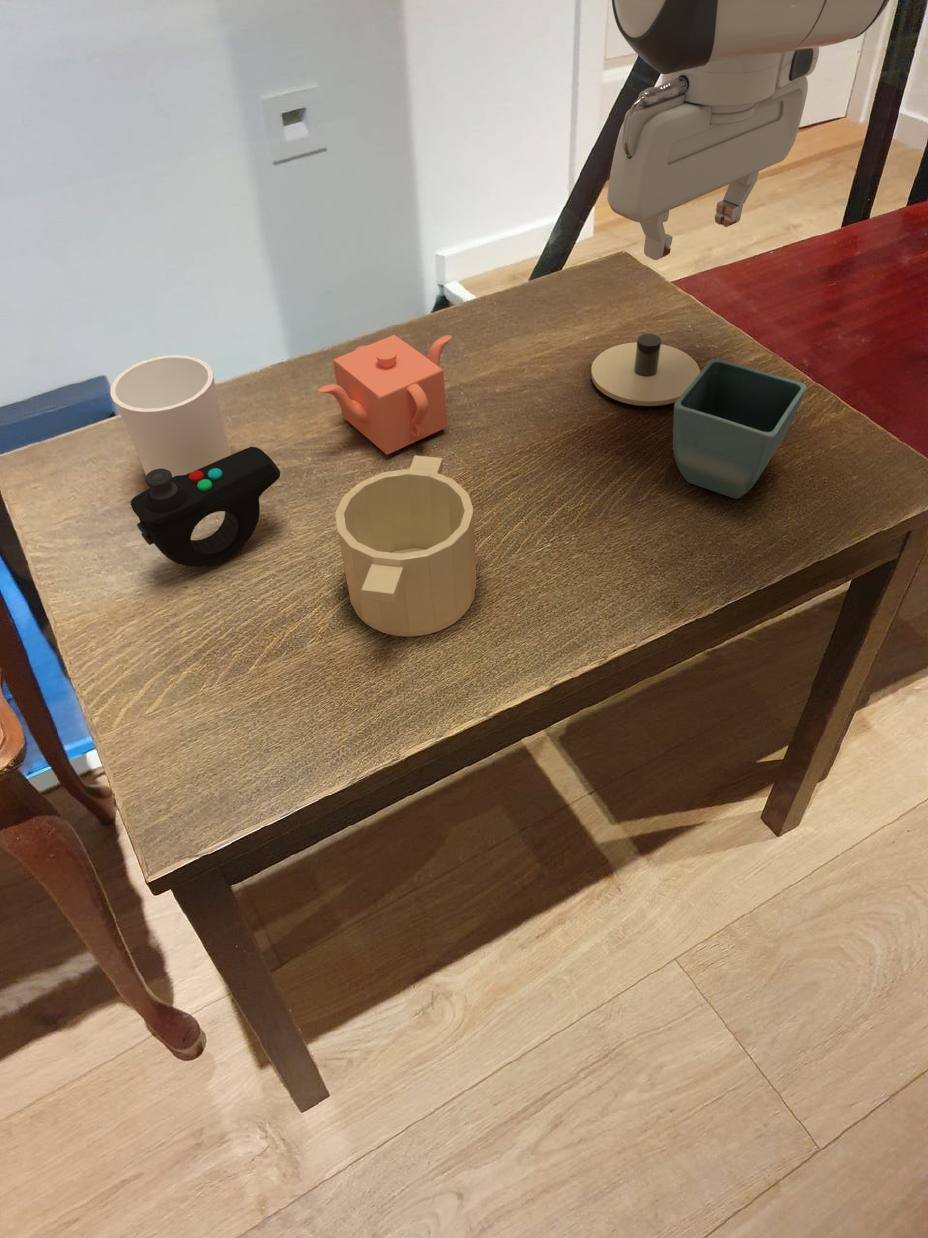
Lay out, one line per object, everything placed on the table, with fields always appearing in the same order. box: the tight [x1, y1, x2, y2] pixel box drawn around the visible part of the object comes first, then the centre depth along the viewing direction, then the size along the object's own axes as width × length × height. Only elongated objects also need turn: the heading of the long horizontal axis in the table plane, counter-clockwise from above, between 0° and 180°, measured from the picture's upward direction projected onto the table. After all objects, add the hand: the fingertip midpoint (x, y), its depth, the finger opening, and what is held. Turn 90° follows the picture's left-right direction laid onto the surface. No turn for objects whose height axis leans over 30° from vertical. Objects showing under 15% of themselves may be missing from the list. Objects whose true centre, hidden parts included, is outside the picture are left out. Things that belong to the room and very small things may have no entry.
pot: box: [334, 455, 477, 638], centre depth 71 cm, size 10×16×8 cm, turn 168°
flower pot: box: [672, 358, 807, 500], centre depth 79 cm, size 9×9×9 cm
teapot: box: [317, 334, 453, 456], centre depth 87 cm, size 12×15×8 cm
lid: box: [590, 333, 701, 407], centre depth 92 cm, size 11×11×5 cm
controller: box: [130, 446, 281, 568], centre depth 74 cm, size 4×12×10 cm, turn 128°
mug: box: [110, 354, 232, 478], centre depth 82 cm, size 11×9×10 cm
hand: (692, 238), depth 79 cm, fingers open, 8 cm apart
